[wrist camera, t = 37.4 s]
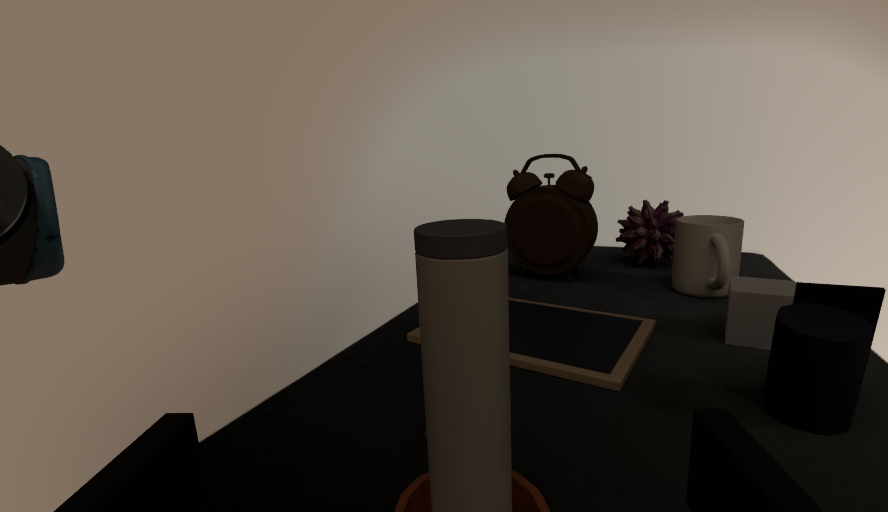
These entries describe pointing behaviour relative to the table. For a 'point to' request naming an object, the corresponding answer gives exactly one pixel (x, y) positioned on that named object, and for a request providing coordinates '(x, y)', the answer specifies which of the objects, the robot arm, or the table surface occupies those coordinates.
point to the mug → (706, 255)
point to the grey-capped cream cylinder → (466, 362)
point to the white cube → (755, 310)
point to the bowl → (525, 496)
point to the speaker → (821, 355)
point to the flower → (649, 232)
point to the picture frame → (573, 342)
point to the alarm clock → (551, 219)
